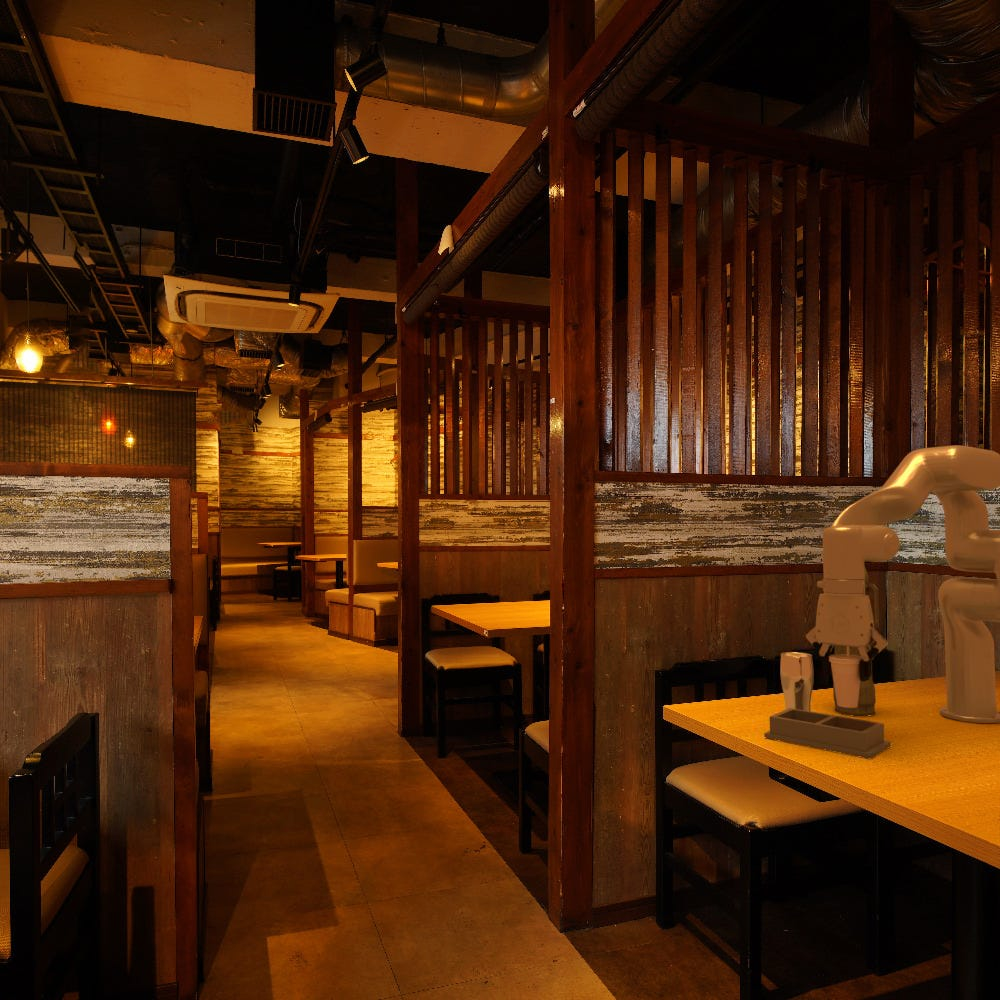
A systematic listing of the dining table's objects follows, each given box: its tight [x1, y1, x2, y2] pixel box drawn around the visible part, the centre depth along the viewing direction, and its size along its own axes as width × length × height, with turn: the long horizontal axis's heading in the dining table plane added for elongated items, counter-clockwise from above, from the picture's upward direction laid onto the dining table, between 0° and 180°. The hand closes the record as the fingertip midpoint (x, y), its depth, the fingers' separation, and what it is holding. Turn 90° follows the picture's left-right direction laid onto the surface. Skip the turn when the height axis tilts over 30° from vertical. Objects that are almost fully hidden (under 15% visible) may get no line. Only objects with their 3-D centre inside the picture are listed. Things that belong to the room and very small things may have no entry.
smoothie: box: [829, 646, 862, 708], centre depth 150 cm, size 6×6×14 cm
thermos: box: [832, 565, 880, 717], centre depth 177 cm, size 9×12×35 cm
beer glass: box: [779, 651, 815, 711], centre depth 169 cm, size 7×7×15 cm
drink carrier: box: [763, 708, 892, 760], centre depth 152 cm, size 11×21×4 cm, turn 45°
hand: (846, 677), depth 150 cm, fingers closed on smoothie, 6 cm apart
